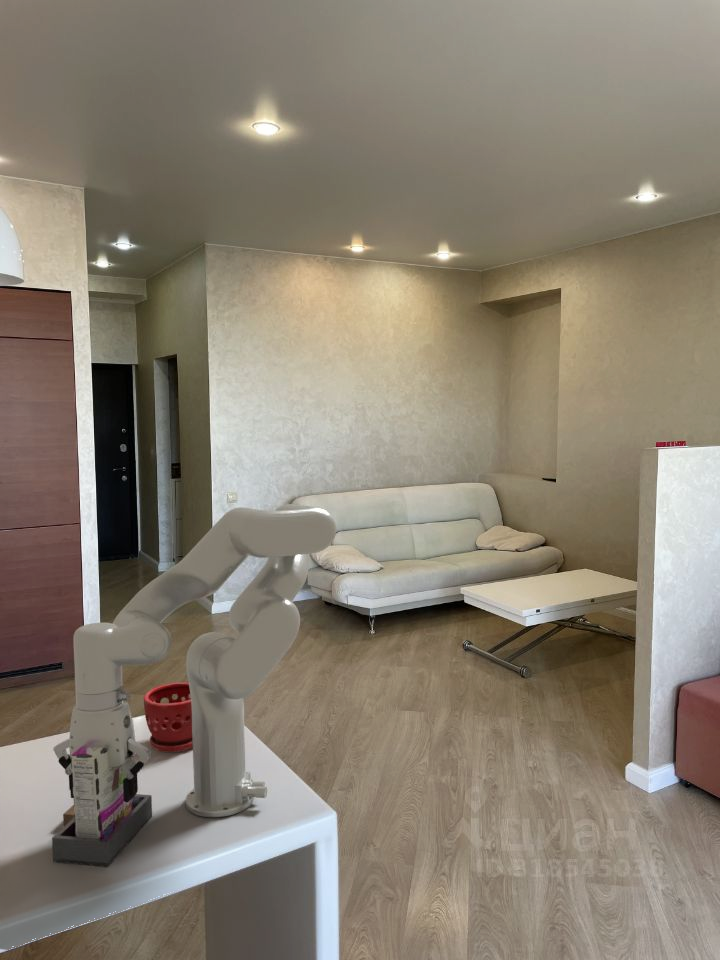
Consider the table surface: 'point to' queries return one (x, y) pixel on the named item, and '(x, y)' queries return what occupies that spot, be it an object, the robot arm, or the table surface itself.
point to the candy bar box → (97, 794)
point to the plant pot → (169, 717)
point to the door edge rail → (68, 815)
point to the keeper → (101, 850)
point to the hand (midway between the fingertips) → (103, 796)
